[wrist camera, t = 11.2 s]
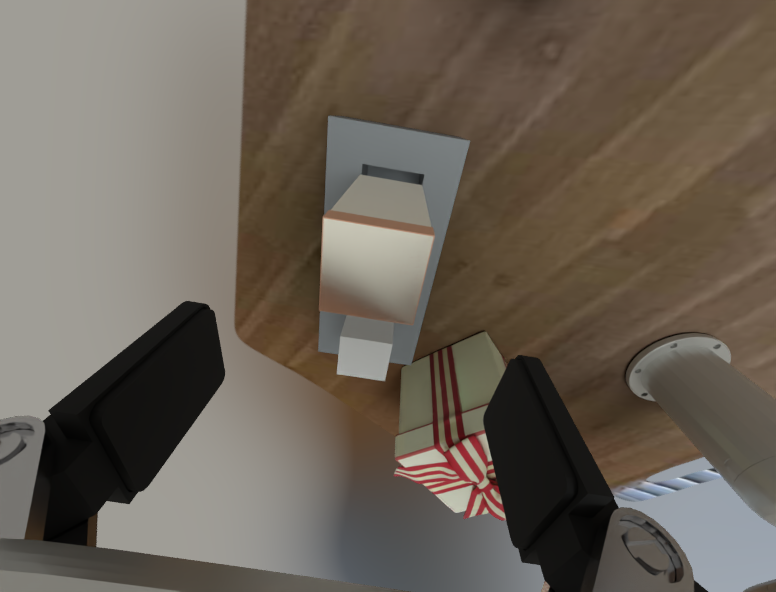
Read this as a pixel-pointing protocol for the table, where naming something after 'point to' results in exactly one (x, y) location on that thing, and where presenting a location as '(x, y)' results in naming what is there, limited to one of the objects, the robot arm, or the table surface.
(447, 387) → the gift box
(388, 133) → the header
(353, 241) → the cream plug
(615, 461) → the table surface
